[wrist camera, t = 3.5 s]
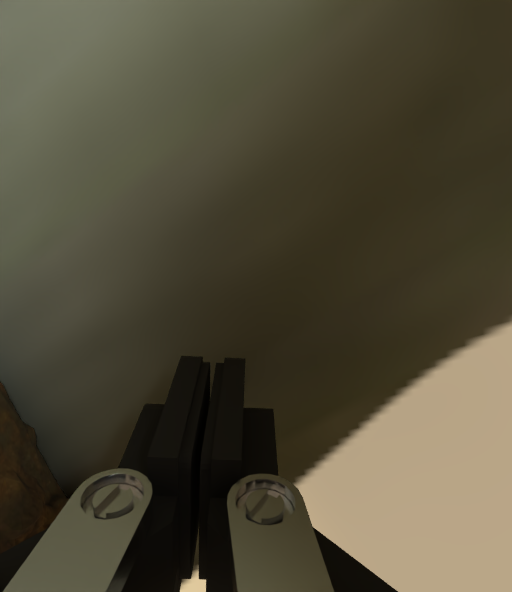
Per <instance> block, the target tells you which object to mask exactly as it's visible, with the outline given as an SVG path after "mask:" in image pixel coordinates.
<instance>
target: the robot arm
mask: <svg viewBox="0 0 512 592" xmlns="http://www.w3.org/2000/svg"><path fill="white" fill-rule="evenodd" d="M244 377H245V359H241V358H225V360H224V363H216V368H215V374H214V380H213V386H212V392H211V398H210V363H208V362H203V357H195V356H181V358H180V361H179V364H178V367H177V370H176V373H175V376H174V379H173V382H172V385H171V388H170V391H169V394H168V397H167V400H166V403H165V405H164V404H145V406H144V407H143V410H142V412H141V414H140V417H139V419H138V422H137V424H136V426H135V429H134V431H133V434H132V436H131V439H130V441H129V443H128V446H127V448H126V451H125V453H124V455H123V458H122V460H121V463H120V465H119V467H118V468H117V469H111V470H106V471H103V472H100V473H98V474H95V475H93V476H92V477H90V478H89V479H87V480H86V481H84V482H83V483H82V484H81V485H80V486H79V487H78V488H77V489H76V491H75V492H74V494H73V495H72V496H71V498H70V499H69V500H68V502H67V503H66V505H65V506H64V507H63V509H62V510H61V512H60V513H59V514H58V516H57V517H56V519H55V520H54V521H53V523H52V524H51V525H50V527H49V528H47V529H45V530H43V531H41V532H40V533H38V534H36V535H34V536H32V537H30V538H29V539H27V540H25V541H23V542H21V543H19V544H18V545H16V546H14V547H12V548H10V549H8V550H6V551H5V552H3V553H1V554H0V592H180V586H181V580H182V579H191V576H192V569H193V562H194V555H195V548H196V541H197V534H198V527H199V579H206V592H398V591H396V590H395V589H394V588H392V587H391V586H390V585H388V584H387V583H386V582H384V581H383V580H382V579H380V578H379V577H378V576H376V575H375V574H374V573H373V572H371V571H370V570H369V569H367V568H366V567H365V566H363V565H362V564H361V563H359V562H358V561H357V560H355V559H354V558H353V557H351V556H350V555H349V554H348V553H346V552H345V551H344V550H342V549H341V548H339V547H338V546H337V545H336V544H334V543H333V542H332V541H330V540H329V539H327V538H326V537H325V536H324V535H323V534H321V533H320V532H319V531H317V530H316V529H315V528H313V527H312V524H311V521H310V518H309V515H308V512H307V509H306V506H305V503H304V500H303V497H302V495H301V494H300V492H299V490H298V489H297V488H296V487H295V486H294V485H293V484H292V483H291V482H290V481H288V480H286V479H284V478H282V477H279V476H278V467H277V453H276V440H275V426H274V413H273V409H263V408H243V404H244Z"/></svg>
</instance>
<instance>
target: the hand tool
mask: <svg viewBox="0 0 512 592" xmlns="http://www.w3.org/2000/svg"><path fill="white" fill-rule="evenodd" d="M67 502H68V498H67V497H66V496H65V494H64V493H63V491H62V490H61V488H60V487H59V485H58V483H57V482H56V480H55V478H54V477H53V475H52V473H51V472H50V470H49V468H48V466H47V464H46V463H45V461H44V459H43V457H42V455H41V454H40V452H39V450H38V448H37V447H36V435H35V432H34V429H33V428H32V427H30V426H28V425H27V424H25V423H24V422H23V421H22V420H21V419H20V417H19V415H18V414H17V412H16V410H15V408H14V406H13V404H12V403H11V401H10V399H9V397H8V395H7V393H6V390H5V388H4V386H3V385H2V383H1V382H0V554H1V553H3V552H5V551H6V550H8V549H10V548H12V547H14V546H16V545H18V544H19V543H21V542H23V541H25V540H27V539H29V538H30V537H32V536H34V535H36V534H38V533H40V532H41V531H43V530H45V529H47V528H49V527H50V525H51V524H52V523H53V521H54V520H55V519H56V517H57V516H58V514H59V513H60V512H61V510H62V509H63V507H64V506H65V505H66V503H67Z"/></svg>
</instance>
